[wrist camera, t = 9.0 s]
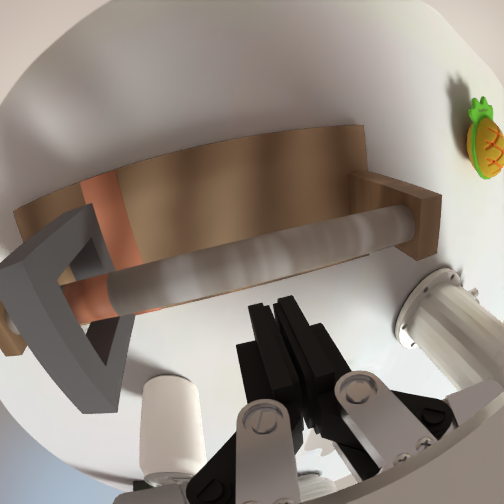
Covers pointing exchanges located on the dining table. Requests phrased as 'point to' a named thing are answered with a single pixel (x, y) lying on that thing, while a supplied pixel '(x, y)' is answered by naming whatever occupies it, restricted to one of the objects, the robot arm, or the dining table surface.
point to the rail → (232, 220)
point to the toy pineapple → (484, 140)
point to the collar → (67, 310)
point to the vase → (314, 487)
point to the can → (170, 431)
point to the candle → (141, 485)
